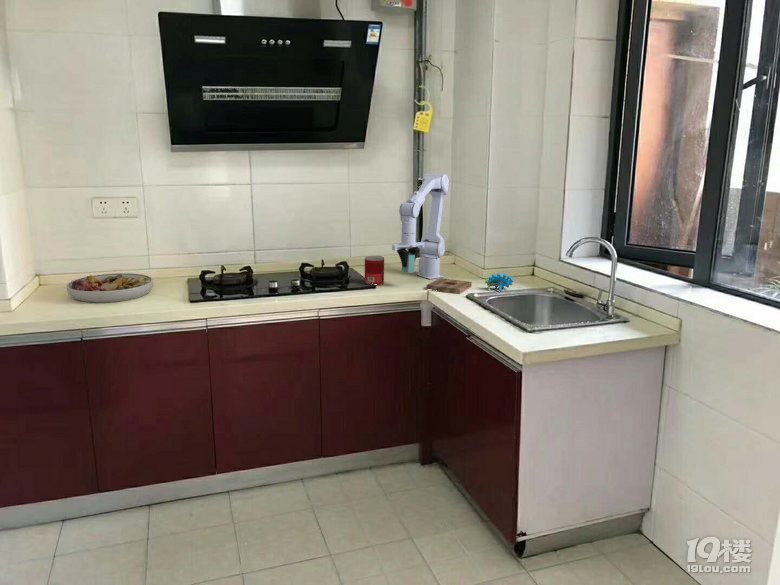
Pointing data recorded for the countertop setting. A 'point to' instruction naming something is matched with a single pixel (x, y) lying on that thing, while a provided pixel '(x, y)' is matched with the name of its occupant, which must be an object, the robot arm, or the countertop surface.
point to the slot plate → (449, 285)
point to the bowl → (110, 287)
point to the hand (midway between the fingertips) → (407, 266)
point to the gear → (499, 281)
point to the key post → (410, 264)
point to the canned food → (374, 269)
